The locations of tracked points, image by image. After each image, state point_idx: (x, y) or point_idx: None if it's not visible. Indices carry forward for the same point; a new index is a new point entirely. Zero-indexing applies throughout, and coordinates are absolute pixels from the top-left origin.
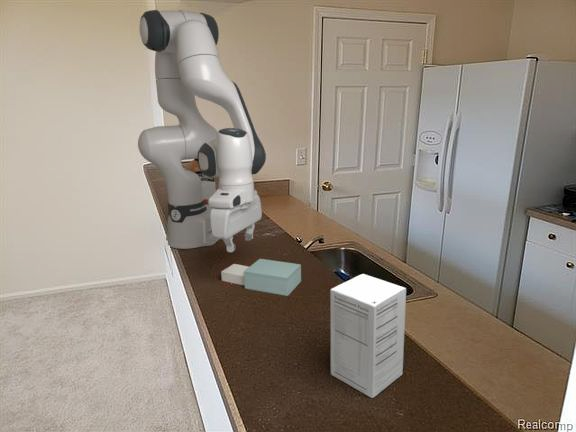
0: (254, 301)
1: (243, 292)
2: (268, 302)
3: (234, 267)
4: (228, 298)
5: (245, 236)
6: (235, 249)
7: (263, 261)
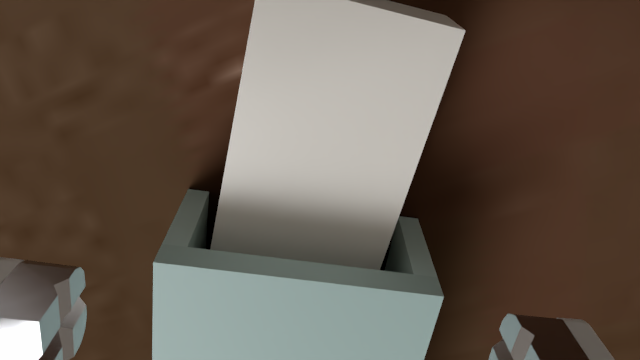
0: None
1: (133, 198)
2: None
3: (375, 68)
4: (17, 138)
5: (526, 357)
6: (76, 343)
7: (386, 335)
